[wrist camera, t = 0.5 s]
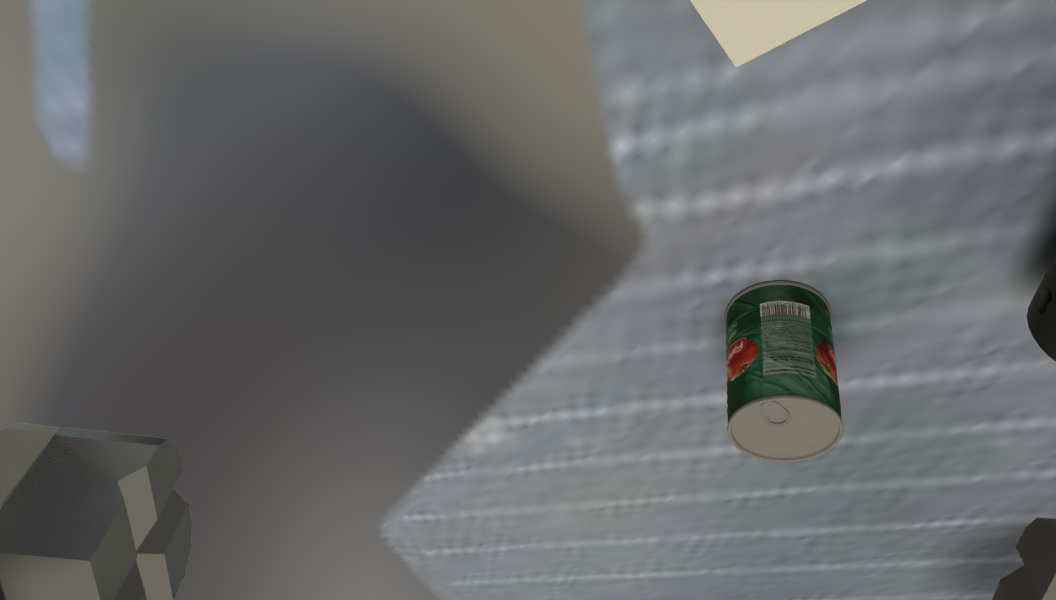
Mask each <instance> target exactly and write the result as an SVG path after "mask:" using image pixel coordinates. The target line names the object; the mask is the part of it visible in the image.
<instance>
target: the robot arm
mask: <svg viewBox="0 0 1056 600" xmlns="http://www.w3.org/2000/svg"><path fill="white" fill-rule="evenodd" d="M182 471H183V468H182V464H181V459H180V455H179V450H178V445H177V444H176V443H174V442H172V441H171V440H169V439H164V438H156V437H147V436H139V435H130V434H121V433H112V432H104V431H95V430H86V429H78V428H67V429H65V428H58V427H50V426H42V425H33V424H24V423H15V424H13V425H11V426H9V427H7V428H4V429H3V430H1V431H0V600H174V598H175V596H176V593H177V591H178V589H179V587H180V584H181V582H182V580H183V578H184V575H185V570H186V566H187V562H188V557H189V553H190V549H191V531H192V522H191V516H190V509H189V504H188V503H187V502H185V500H184V499H182V497H181V496H180V495H179V494H177V492H176V491H175V490H174V486H175V485H176V483H177V481H178V479H179V477H180V475H181V473H182ZM1016 548H1017V550H1018V552H1019V555H1020V557H1021V559H1022V561H1023V563H1024V565H1023V566H1021V567H1020V568H1018V569H1016V570H1015V571H1013V572H1012V573H1010V574H1008V575H1007V576H1005V577H1004V578H1002V579H1001V580H1000V582H999V584H998V587H997V589H996V591H995V594H994V596H993V599H992V600H1056V519H1048V518H1036V519H1035V520H1034V521H1033V522H1031V523H1030V524H1029V525H1028V526H1027V527H1025V529H1024V531H1023V533H1022V535H1021V537H1020V539H1019V541H1018V543H1017V545H1016Z"/></svg>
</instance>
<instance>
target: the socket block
mask: <svg viewBox="0 0 1056 600" xmlns="http://www.w3.org/2000/svg"><path fill="white" fill-rule="evenodd" d="M690 1H691V2H692V4H693V5H694V7H695V8H696V10H697V11H698V13H699V14H700V15H701V17H702V18H703V20H704V21H705V23H706V24H707V26H708V27H709V29H710V30H711V31H712V33H713V34H714V36H715V37H716V39H717V40H718V42H719V43H720V45H721V46H722V47H723V49H724V50H725V52H726V53H727V55H728V56H729V58H730V59H731V61H732V62H733V63H734V65H735V66H736V67H738V66H740V65H742V64H744V63H746V62H748V61H750V60H752V59H754V58H756V57H757V56H759V55H761V54H763V53H765V52H767V51H769V50H771V49H773V48H775V47H777V46H779V45H781V44H783V43H785V42H787V41H789V40H791V39H793V38H794V37H796V36H798V35H800V34H802V33H804V32H806V31H808V30H810V29H812V28H814V27H816V26H818V25H820V24H822V23H824V22H826V21H828V20H829V19H831V18H833V17H835V16H837V15H839V14H841V13H843V12H845V11H847V10H849V9H851V8H853V7H855V6H857V5H859V4H861V3H863V2H865V1H866V0H690Z"/></svg>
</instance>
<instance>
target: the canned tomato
mask: <svg viewBox="0 0 1056 600" xmlns="http://www.w3.org/2000/svg"><path fill="white" fill-rule="evenodd" d="M725 319H726V339H727V340H726V345H727V349H726V352H727V358H726V359H727V396H728V399H727V403H728V409H727V412H728V428H727V431H728V436H729V439H730V440H731V442H732V444H733V445H734V446H735V447H736V448H737V449H739V450H740V451H742V452H743V453H745V454H747V455H749V456H752V457H754V458H758V459H761V460H766V461H771V462H797V461H804V460H808V459H812V458H815V457H817V456H820V455H822V454H824V453H826V452H828V451H829V450H831V449H832V448H833V447H834V446H835V445H837V444H838V442H839V441H840V439H841V438H842V434H843V422H842V419H841V407H840V398H839V390H838V381H837V372H836V363H835V354H834V345H833V335H832V326H831V321H830V308H829V305H828V303H827V301H826V299H825V298H824V297H823V296H822V295H821V294H820V293H819V292H818V291H816V290H814V289H813V288H811V287H809V286H806V285H803V284H800V283H796V282H790V281H771V282H765V283H760V284H757V285H754V286H751V287H749V288H747V289H745V290H743V291H742V292H740V293H739V294H738V295H736V296H735V297H734V298H733V299H732V301H731V302H730V303H729V305H728V307H727V310H726V316H725Z"/></svg>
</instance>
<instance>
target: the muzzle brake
mask: <svg viewBox="0 0 1056 600" xmlns="http://www.w3.org/2000/svg"><path fill="white" fill-rule="evenodd" d="M1027 320H1028V326H1029V329H1030V331H1031V333H1032V336H1033V337H1034V339H1035V340H1036V342H1037V343H1038V345H1039V346H1040V347H1041V348H1042V349H1043V351H1044V352H1045V353H1046V354H1047V355H1048V356H1049V357H1051V358H1052V359H1053V360H1055V361H1056V255H1055V257H1054V259H1053V261H1052V263H1051V265H1050V267H1049V269H1048V271H1047V273H1046V274H1045V276H1044V278H1043V280H1042V282H1041V284H1040V286H1039V288H1038V290H1037V291H1036V293H1035V295H1034V297H1033V299H1032V301H1031V303H1030V305H1029V308H1028V313H1027Z"/></svg>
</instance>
